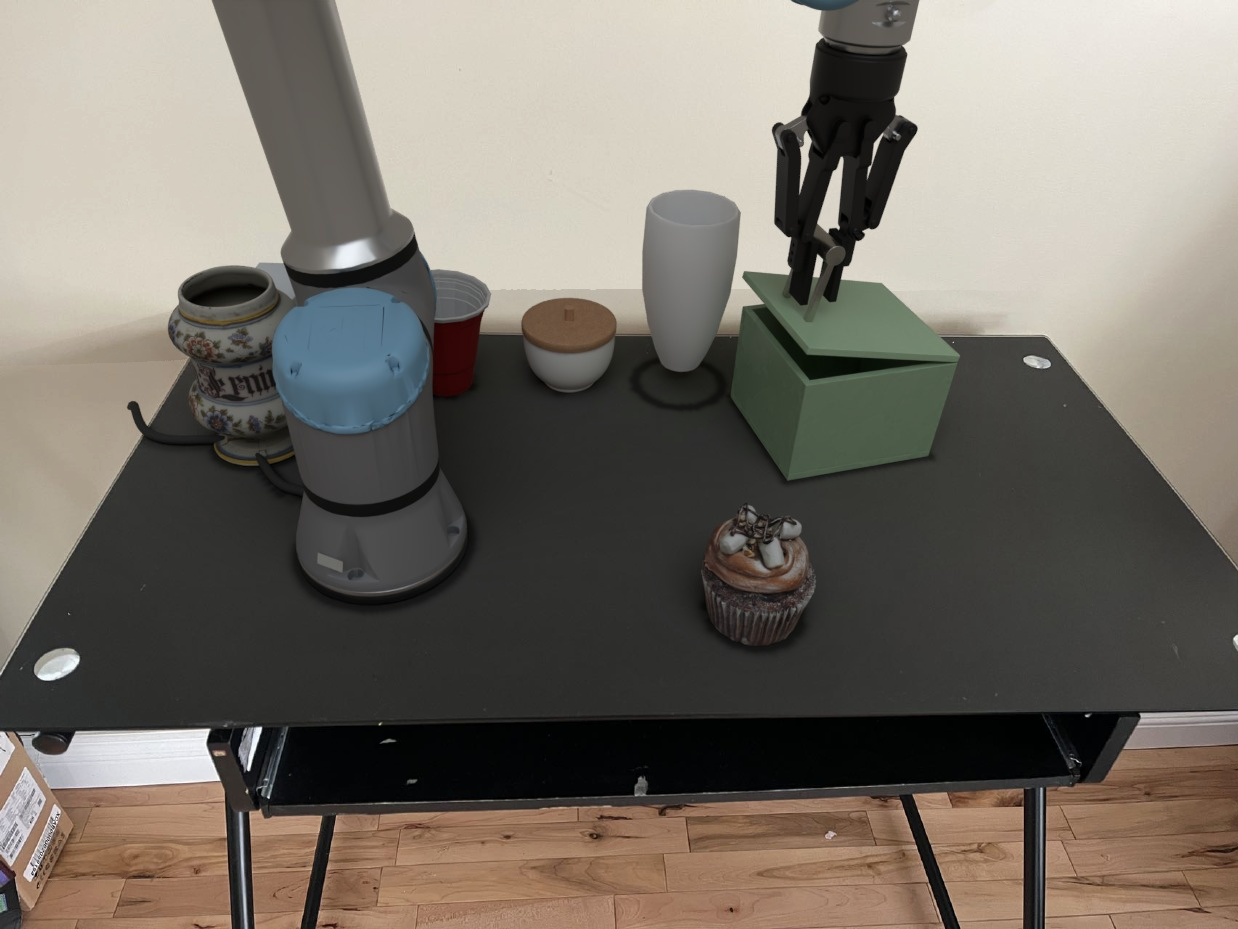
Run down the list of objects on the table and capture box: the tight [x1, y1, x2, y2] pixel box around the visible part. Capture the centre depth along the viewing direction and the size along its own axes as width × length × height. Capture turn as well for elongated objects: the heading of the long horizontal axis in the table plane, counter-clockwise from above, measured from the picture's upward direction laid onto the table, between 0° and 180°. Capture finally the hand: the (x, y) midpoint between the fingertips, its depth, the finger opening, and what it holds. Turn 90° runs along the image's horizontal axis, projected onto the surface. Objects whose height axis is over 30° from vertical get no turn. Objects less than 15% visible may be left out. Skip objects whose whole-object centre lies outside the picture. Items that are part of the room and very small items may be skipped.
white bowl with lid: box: [520, 297, 618, 393], centre depth 104 cm, size 11×11×9 cm
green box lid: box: [741, 223, 961, 363], centre depth 90 cm, size 17×16×9 cm
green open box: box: [730, 303, 958, 481], centre depth 97 cm, size 17×16×12 cm
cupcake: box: [700, 502, 817, 647], centre depth 76 cm, size 10×10×10 cm
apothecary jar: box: [167, 264, 296, 467], centre depth 90 cm, size 12×12×18 cm
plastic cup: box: [430, 268, 492, 397], centre depth 101 cm, size 11×11×12 cm
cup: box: [641, 189, 742, 373], centre depth 100 cm, size 10×10×22 cm
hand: (812, 296), depth 89 cm, fingers open, 2 cm apart
